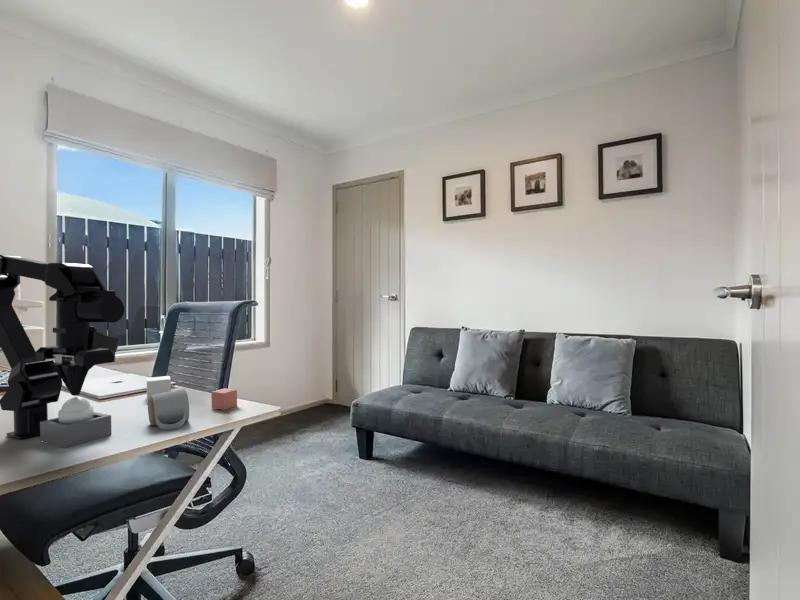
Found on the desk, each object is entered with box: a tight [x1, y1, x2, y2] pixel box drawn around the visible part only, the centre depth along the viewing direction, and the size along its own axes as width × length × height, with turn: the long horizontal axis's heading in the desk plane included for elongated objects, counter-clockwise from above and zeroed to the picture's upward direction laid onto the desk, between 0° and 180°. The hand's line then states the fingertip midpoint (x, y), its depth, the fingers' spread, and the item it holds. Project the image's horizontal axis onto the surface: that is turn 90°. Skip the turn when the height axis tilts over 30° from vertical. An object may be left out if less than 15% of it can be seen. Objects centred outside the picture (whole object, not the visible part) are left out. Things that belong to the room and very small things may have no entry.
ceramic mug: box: [147, 388, 190, 431], centre depth 101 cm, size 11×8×8 cm
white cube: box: [146, 375, 172, 403], centre depth 127 cm, size 6×6×6 cm
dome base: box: [39, 411, 112, 449], centre depth 92 cm, size 9×9×4 cm
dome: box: [57, 396, 94, 425], centre depth 92 cm, size 6×6×5 cm
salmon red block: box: [211, 387, 238, 411], centre depth 116 cm, size 4×4×5 cm
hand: (75, 395), depth 92 cm, fingers closed
